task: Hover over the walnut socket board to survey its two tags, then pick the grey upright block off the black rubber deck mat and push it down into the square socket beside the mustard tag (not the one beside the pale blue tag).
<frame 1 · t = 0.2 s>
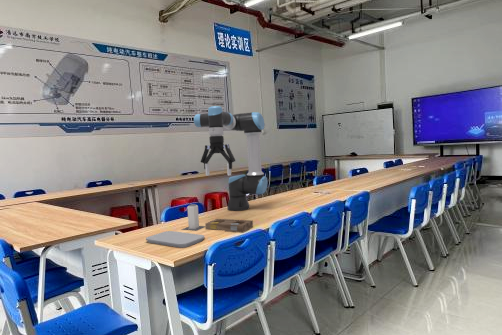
hand: (218, 175, 189), 28 cm above the table, fingers open, 13 cm apart
deck mat: (193, 228, 190), on the table
grey upright block: (193, 227, 190), resting on deck mat
tablet: (175, 242, 167), on the table
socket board: (229, 228, 186), on the table
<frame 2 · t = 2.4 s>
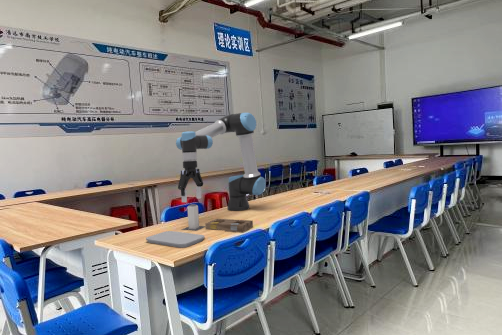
hand: (191, 200, 188), 16 cm above the table, fingers open, 13 cm apart
nothing on the table moved.
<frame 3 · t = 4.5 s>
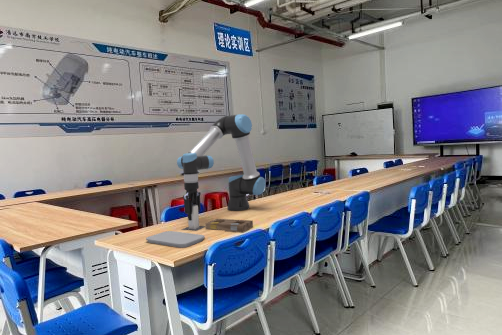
hand: (193, 224, 190), 2 cm above the table, fingers closed on grey upright block, 4 cm apart
grey upright block: (193, 227, 190), resting on deck mat, touching gripper
everything else where it was.
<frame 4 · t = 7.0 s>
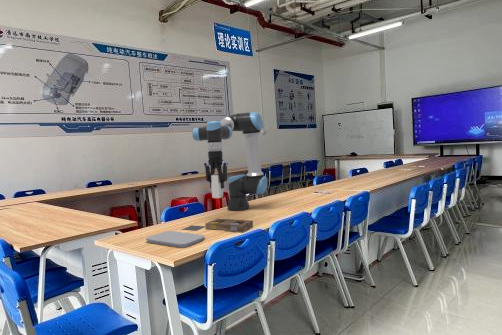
hand: (217, 194, 187), 18 cm above the table, fingers closed on grey upright block, 4 cm apart
grey upright block: (217, 197, 188), point 16 cm above the table, touching gripper
everything else where it was.
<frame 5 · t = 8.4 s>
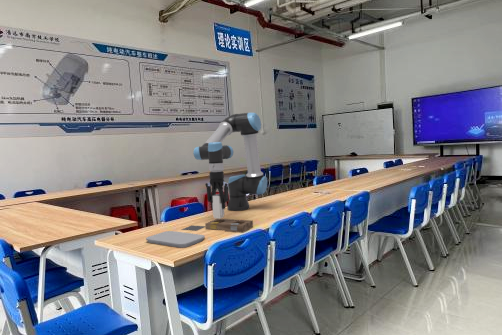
hand: (218, 214, 188), 7 cm above the table, fingers closed on grey upright block, 4 cm apart
grey upright block: (218, 217, 188), point 6 cm above the table, touching gripper
everything else where it was.
when the fingers open (4 cm above the table, at t = 9.5 s): grey upright block drops 2 cm, resting on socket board.
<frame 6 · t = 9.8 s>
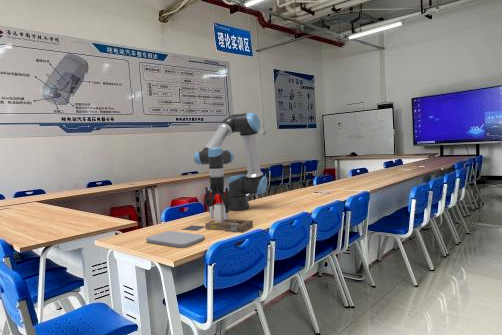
hand: (219, 218, 188), 5 cm above the table, fingers open, 8 cm apart
grey upright block: (219, 226, 189), point 1 cm above the table, touching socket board
everything else where it was.
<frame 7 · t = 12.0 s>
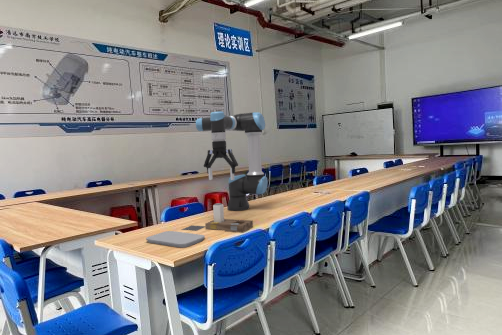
hand: (221, 179, 191), 25 cm above the table, fingers open, 13 cm apart
nothing on the table moved.
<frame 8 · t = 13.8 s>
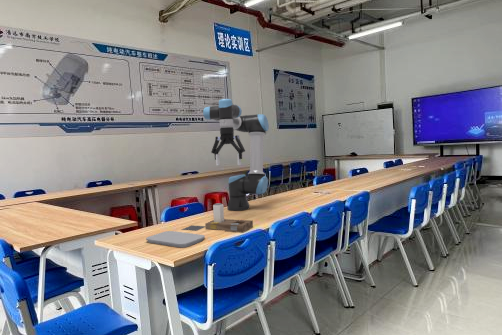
hand: (228, 165, 197), 33 cm above the table, fingers open, 13 cm apart
nothing on the table moved.
at the end: grey upright block 0.0 cm from the target spot on the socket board, point 0.5 cm above the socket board's base; grey upright block tilted 0°; the gripper is holding nothing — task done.
